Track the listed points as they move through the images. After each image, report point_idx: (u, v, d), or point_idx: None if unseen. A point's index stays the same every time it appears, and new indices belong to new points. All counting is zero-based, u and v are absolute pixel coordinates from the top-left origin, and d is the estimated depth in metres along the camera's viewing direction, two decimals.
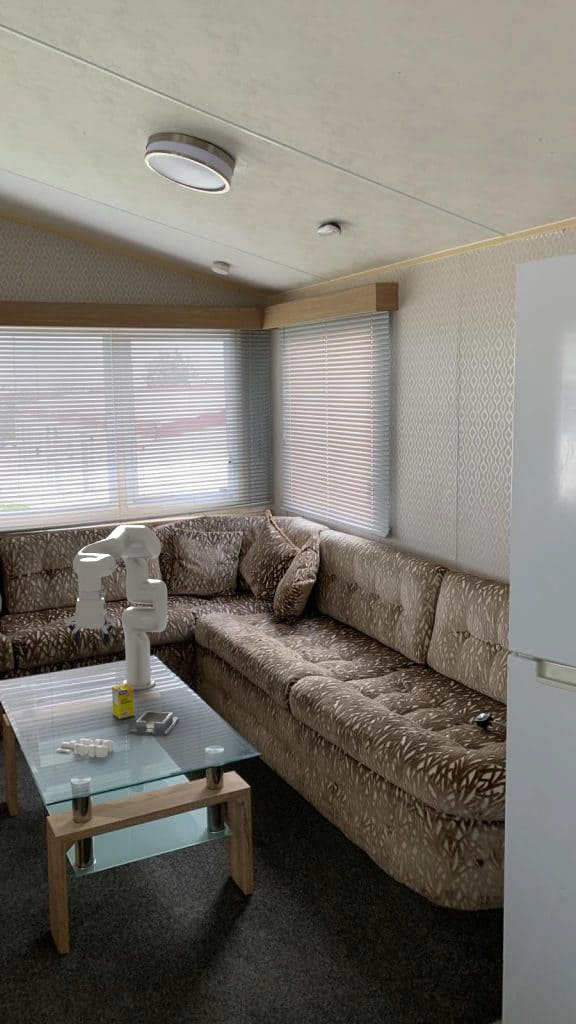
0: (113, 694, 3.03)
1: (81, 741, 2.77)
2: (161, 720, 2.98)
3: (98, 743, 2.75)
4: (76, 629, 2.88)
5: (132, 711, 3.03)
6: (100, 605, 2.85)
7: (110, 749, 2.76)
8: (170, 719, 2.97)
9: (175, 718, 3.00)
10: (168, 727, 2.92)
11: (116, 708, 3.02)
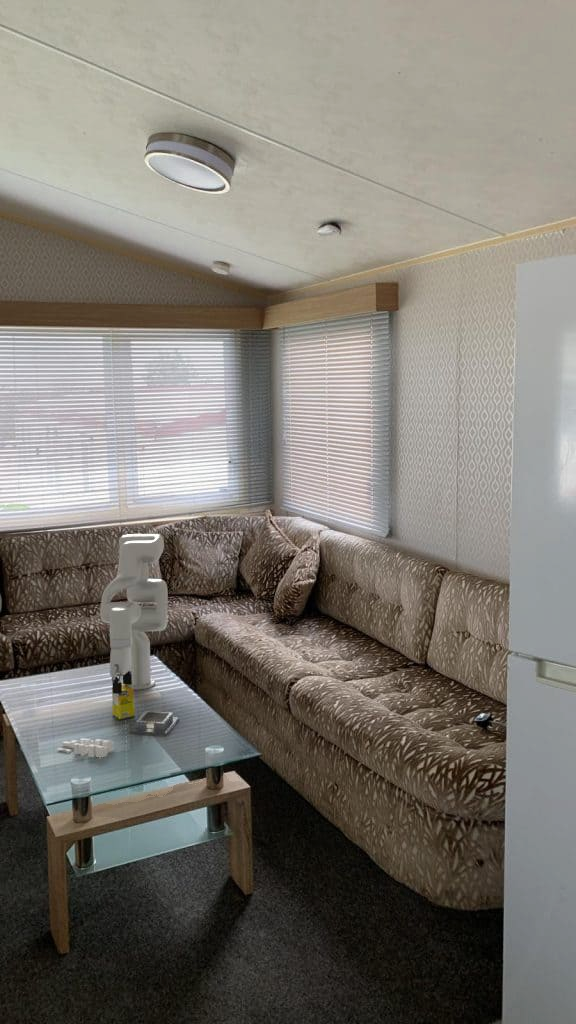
0: (113, 695, 3.03)
1: (81, 741, 2.77)
2: (161, 720, 2.98)
3: (98, 743, 2.75)
4: (120, 678, 2.97)
5: (132, 712, 3.03)
6: (130, 647, 3.04)
7: (110, 749, 2.75)
8: (170, 719, 2.97)
9: (175, 718, 3.00)
10: (168, 727, 2.92)
11: (116, 708, 3.02)
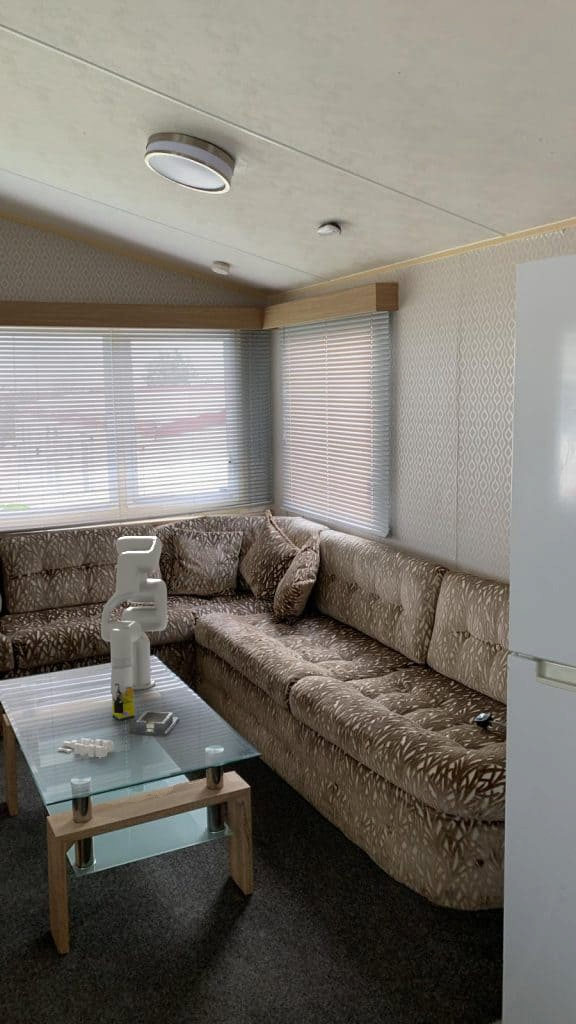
0: None
1: (82, 741, 2.77)
2: (161, 720, 2.98)
3: (98, 743, 2.75)
4: (122, 698, 2.99)
5: (132, 711, 3.03)
6: (131, 666, 3.06)
7: (110, 749, 2.75)
8: (170, 719, 2.97)
9: (175, 718, 3.00)
10: (168, 727, 2.92)
11: None
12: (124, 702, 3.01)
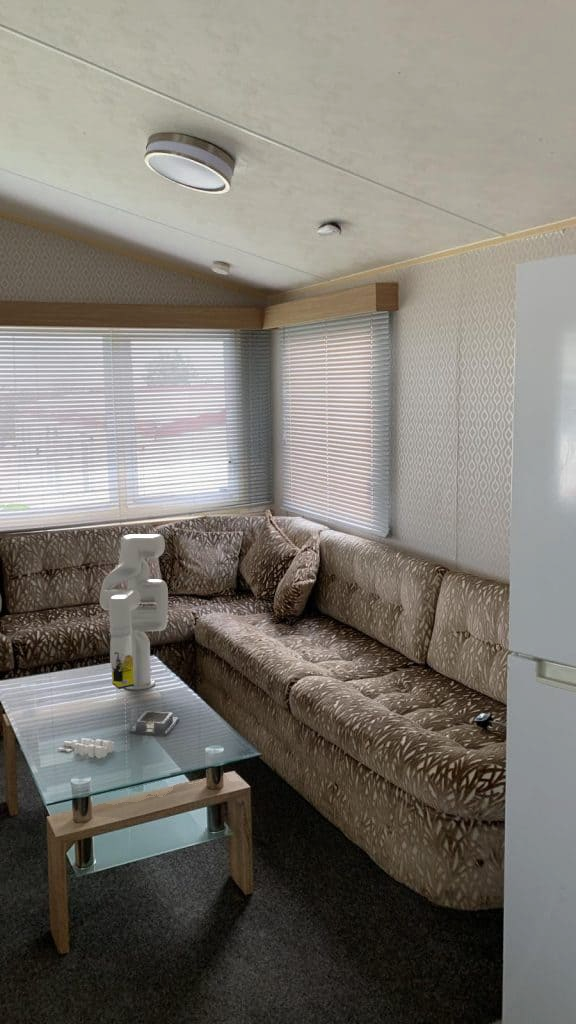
0: None
1: (82, 741, 2.77)
2: (161, 720, 2.98)
3: (98, 743, 2.75)
4: (121, 666, 2.98)
5: (131, 680, 3.03)
6: (130, 634, 3.04)
7: (110, 750, 2.75)
8: (170, 719, 2.97)
9: (175, 718, 3.00)
10: (168, 727, 2.92)
11: None
12: (123, 671, 3.00)
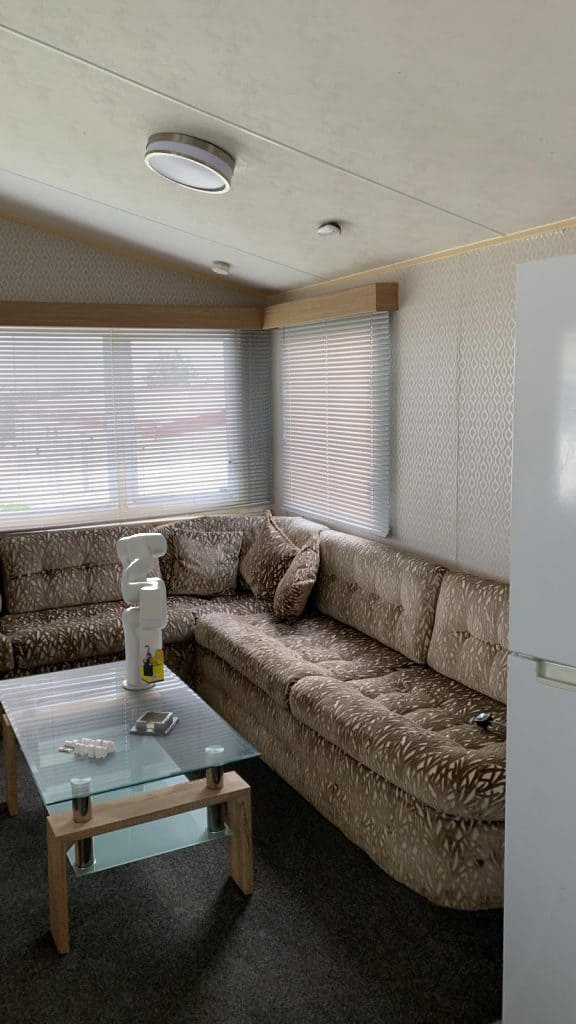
0: None
1: (82, 741, 2.77)
2: (161, 720, 2.98)
3: (99, 743, 2.75)
4: (151, 660, 2.88)
5: (162, 674, 2.92)
6: None
7: (110, 750, 2.75)
8: (170, 719, 2.97)
9: (175, 718, 3.00)
10: (168, 727, 2.92)
11: None
12: (154, 665, 2.90)
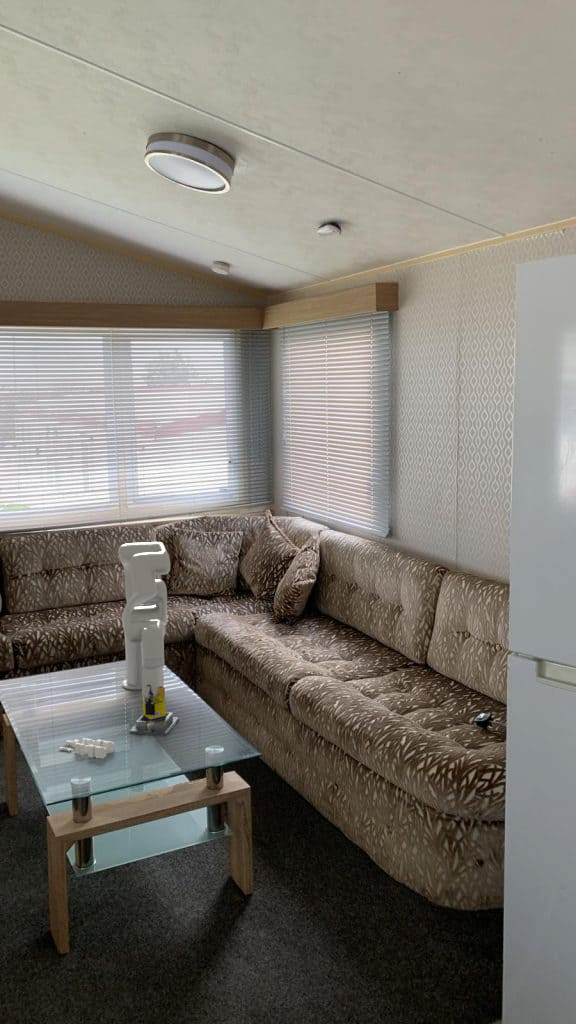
0: None
1: (83, 741, 2.77)
2: (161, 720, 2.98)
3: (99, 744, 2.75)
4: (153, 699, 2.89)
5: (163, 711, 2.94)
6: (162, 666, 2.96)
7: (110, 750, 2.75)
8: (170, 719, 2.97)
9: (175, 718, 3.00)
10: (168, 727, 2.92)
11: None
12: (155, 702, 2.91)
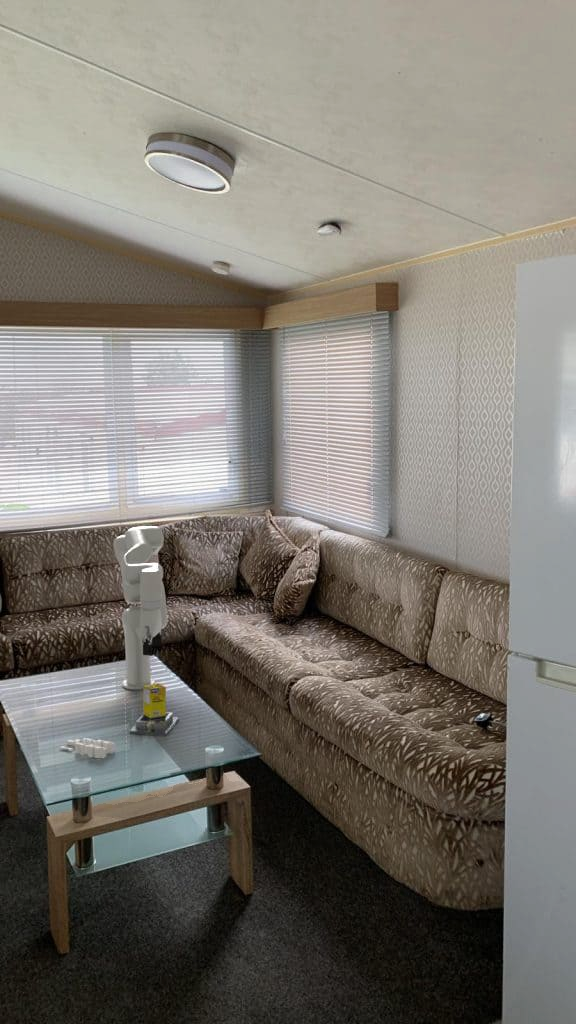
0: (144, 693, 2.94)
1: (84, 741, 2.77)
2: (161, 720, 2.98)
3: (99, 744, 2.75)
4: (151, 640, 2.94)
5: (163, 711, 2.94)
6: (160, 609, 3.01)
7: (110, 751, 2.74)
8: (170, 719, 2.97)
9: (175, 718, 3.00)
10: (168, 727, 2.92)
11: (147, 707, 2.93)
12: (156, 701, 2.92)
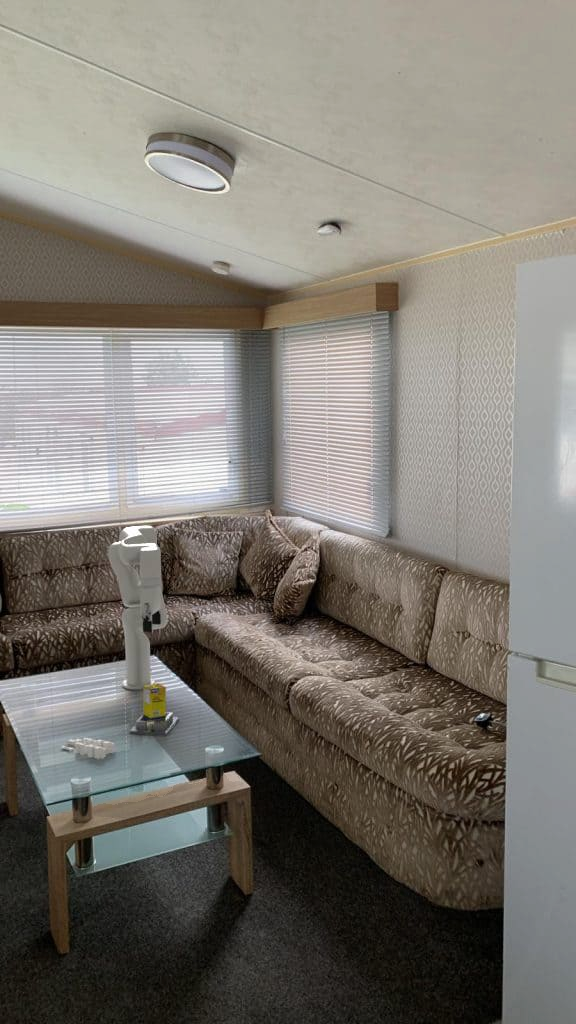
0: (144, 693, 2.94)
1: (84, 740, 2.77)
2: (161, 720, 2.98)
3: (99, 744, 2.75)
4: (150, 617, 3.03)
5: (163, 711, 2.94)
6: None
7: (110, 751, 2.74)
8: (170, 719, 2.97)
9: (175, 718, 3.00)
10: (168, 727, 2.92)
11: (147, 707, 2.93)
12: (156, 701, 2.92)
